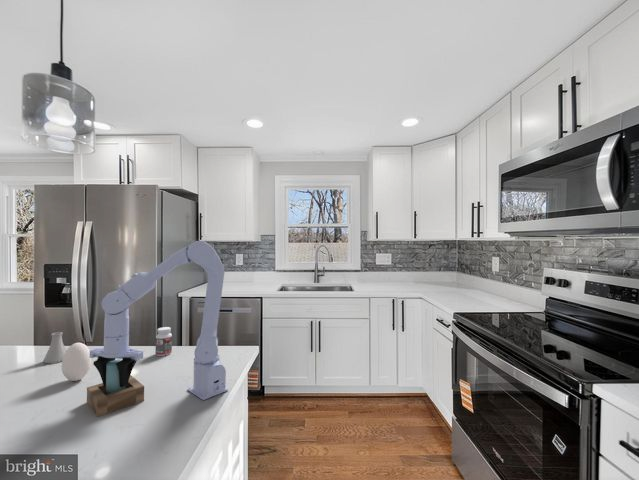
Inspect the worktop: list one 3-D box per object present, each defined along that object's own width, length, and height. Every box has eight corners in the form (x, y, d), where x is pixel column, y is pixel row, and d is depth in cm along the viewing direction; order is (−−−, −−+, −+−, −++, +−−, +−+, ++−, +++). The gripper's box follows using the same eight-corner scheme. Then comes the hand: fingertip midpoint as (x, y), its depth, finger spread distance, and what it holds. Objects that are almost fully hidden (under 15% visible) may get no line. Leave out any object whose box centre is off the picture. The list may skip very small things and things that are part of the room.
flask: (38, 362, 111) (38, 335, 111) (60, 356, 117) (60, 329, 118) (52, 365, 108) (52, 336, 109) (74, 358, 115) (74, 331, 116)
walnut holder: (144, 400, 84) (144, 386, 84) (97, 416, 76) (97, 400, 76) (130, 388, 91) (130, 375, 91) (86, 402, 83) (87, 387, 83)
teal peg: (127, 395, 84) (128, 362, 84) (108, 401, 81) (109, 366, 81) (122, 390, 87) (122, 358, 87) (103, 395, 84) (104, 362, 84)
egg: (69, 376, 99) (69, 340, 99) (95, 374, 101) (96, 338, 101) (55, 387, 92) (56, 347, 92) (84, 384, 94) (85, 345, 94)
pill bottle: (167, 356, 117) (167, 330, 118) (152, 356, 118) (152, 330, 118) (174, 351, 123) (174, 326, 123) (160, 351, 123) (160, 326, 123)
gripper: (150, 331, 87) (150, 380, 87) (104, 329, 89) (103, 376, 89) (132, 339, 80) (132, 391, 80) (83, 336, 82) (82, 388, 82)
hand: (115, 384), depth 84 cm, fingers closed on teal peg, 4 cm apart
